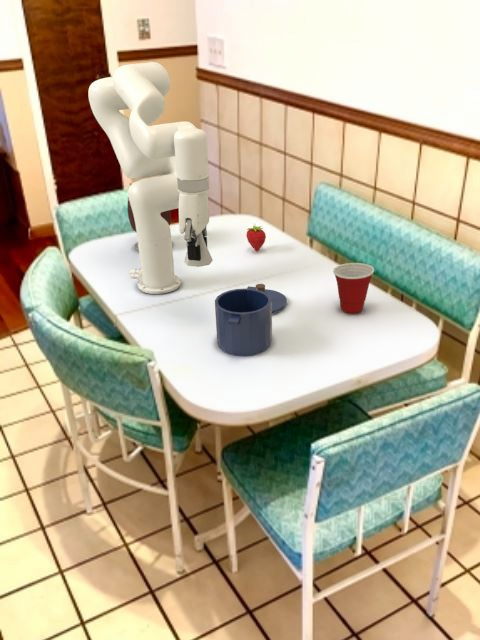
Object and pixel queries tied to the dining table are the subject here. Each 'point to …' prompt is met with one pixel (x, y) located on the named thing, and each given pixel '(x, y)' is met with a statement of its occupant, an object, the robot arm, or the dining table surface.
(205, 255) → the flask
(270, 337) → the pot
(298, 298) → the dining table surface
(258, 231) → the strawberry
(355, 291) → the plastic cup
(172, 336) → the dining table surface
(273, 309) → the pot lid
